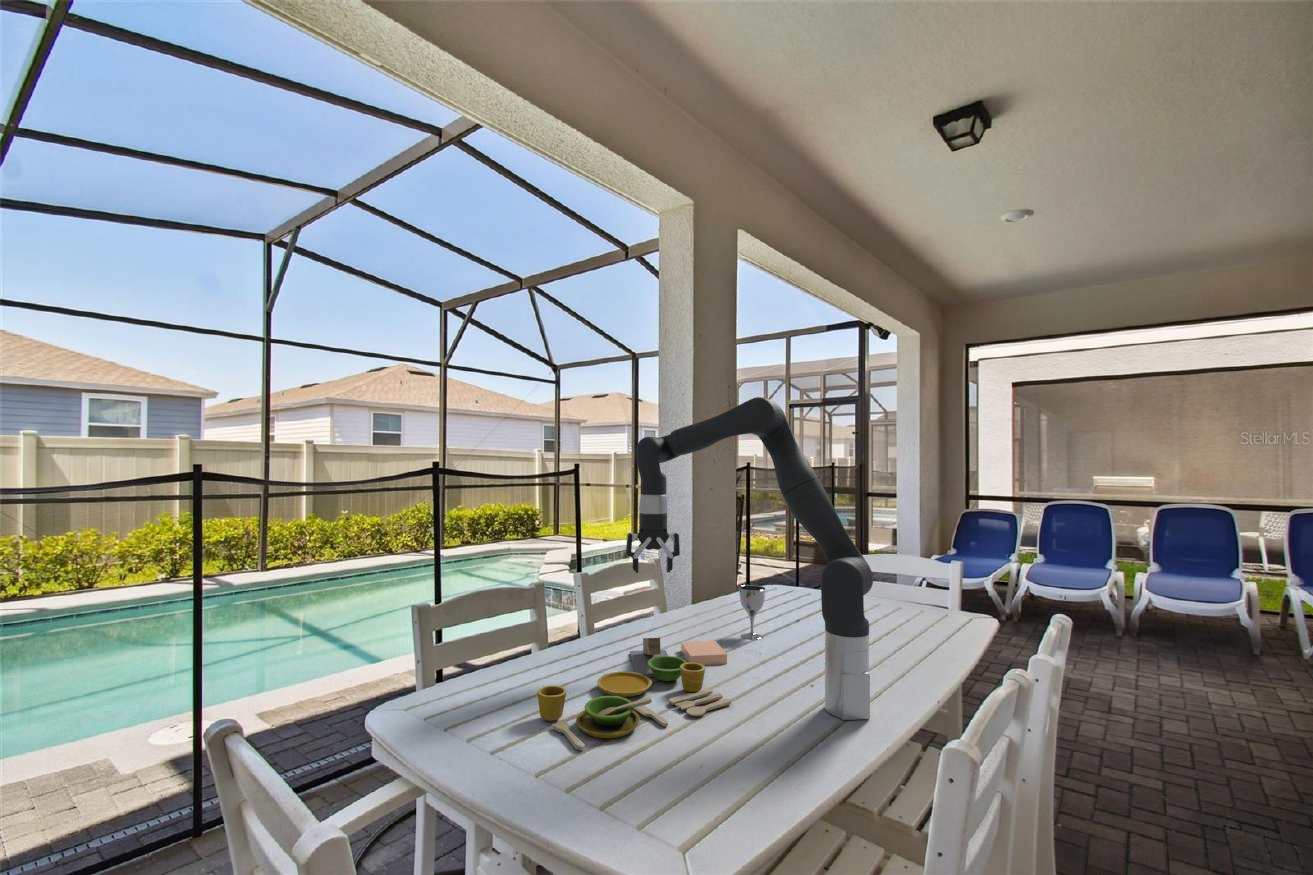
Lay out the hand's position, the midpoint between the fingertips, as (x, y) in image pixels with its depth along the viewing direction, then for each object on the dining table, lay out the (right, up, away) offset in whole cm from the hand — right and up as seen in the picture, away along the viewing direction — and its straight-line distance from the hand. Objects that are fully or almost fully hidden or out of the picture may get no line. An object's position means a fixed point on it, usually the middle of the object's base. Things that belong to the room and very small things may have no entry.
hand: (652, 572), depth 157 cm
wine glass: (+31, -26, +25) cm, 47 cm away
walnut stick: (0, -21, -1) cm, 22 cm away
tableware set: (-5, -23, -27) cm, 36 cm away
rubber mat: (0, -24, -1) cm, 24 cm away
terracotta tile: (+15, -24, -1) cm, 28 cm away
